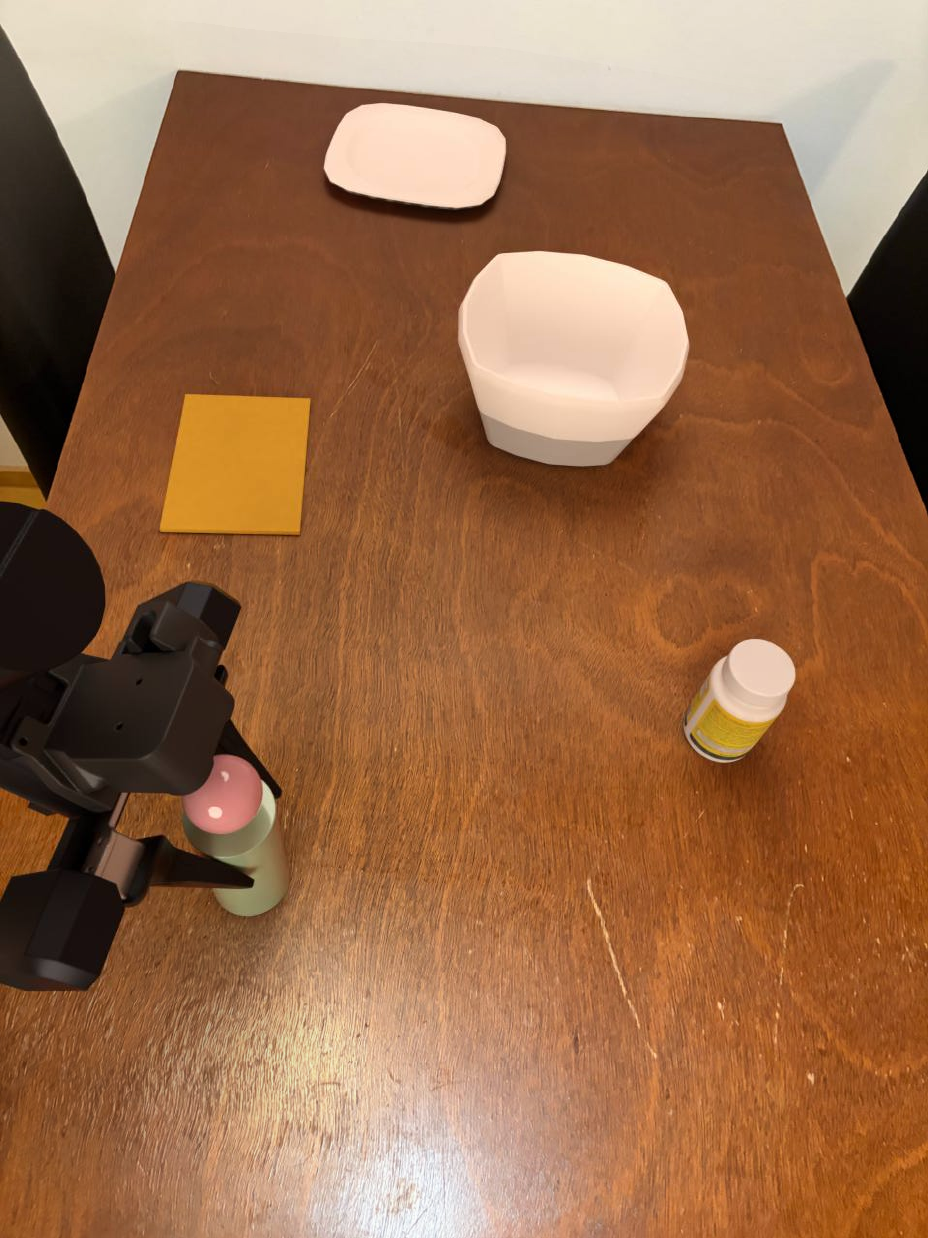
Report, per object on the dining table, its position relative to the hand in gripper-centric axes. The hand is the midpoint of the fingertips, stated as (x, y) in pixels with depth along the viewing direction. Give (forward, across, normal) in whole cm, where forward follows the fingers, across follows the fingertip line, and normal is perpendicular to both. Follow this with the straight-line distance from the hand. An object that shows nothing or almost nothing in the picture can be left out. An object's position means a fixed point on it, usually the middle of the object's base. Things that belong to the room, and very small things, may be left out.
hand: (263, 839), depth 45 cm
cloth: (-3, +31, +14) cm, 34 cm away
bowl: (+13, +42, -3) cm, 45 cm away
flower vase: (+4, 0, +6) cm, 7 cm away
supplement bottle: (+23, +16, -13) cm, 31 cm away
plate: (0, +76, +10) cm, 77 cm away
